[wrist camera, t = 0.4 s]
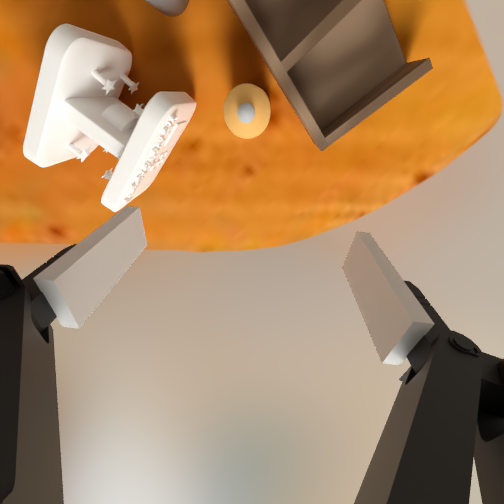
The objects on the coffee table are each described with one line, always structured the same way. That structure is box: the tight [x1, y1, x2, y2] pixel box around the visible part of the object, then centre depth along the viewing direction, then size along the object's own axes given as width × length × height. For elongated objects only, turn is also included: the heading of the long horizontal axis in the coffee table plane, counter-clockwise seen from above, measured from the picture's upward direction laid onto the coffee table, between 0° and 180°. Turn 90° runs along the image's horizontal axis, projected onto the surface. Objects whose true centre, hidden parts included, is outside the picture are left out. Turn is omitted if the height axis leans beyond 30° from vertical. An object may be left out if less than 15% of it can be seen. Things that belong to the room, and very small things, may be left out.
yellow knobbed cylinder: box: [223, 83, 270, 139], centre depth 26 cm, size 5×5×10 cm
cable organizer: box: [23, 23, 197, 212], centre depth 27 cm, size 15×11×12 cm
